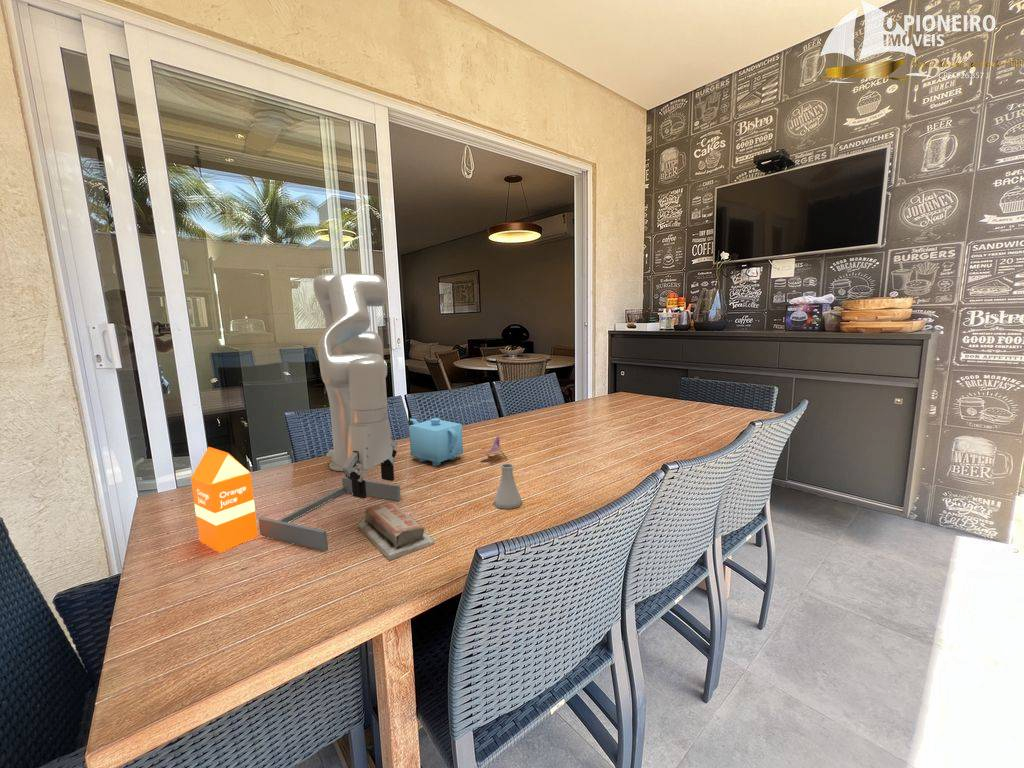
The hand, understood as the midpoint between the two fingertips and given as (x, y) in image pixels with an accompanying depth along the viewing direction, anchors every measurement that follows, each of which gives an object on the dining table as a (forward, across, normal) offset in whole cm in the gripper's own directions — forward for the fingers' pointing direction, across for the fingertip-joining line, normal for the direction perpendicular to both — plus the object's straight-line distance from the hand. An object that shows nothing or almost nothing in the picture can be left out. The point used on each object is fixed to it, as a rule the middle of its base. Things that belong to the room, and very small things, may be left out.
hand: (374, 488), depth 96 cm
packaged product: (+9, +3, +7) cm, 12 cm away
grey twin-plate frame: (+9, +1, -11) cm, 14 cm away
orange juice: (+9, +17, -25) cm, 32 cm away
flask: (+8, -19, +25) cm, 33 cm away
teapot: (+10, -43, -11) cm, 46 cm away
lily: (+10, -49, +8) cm, 51 cm away
